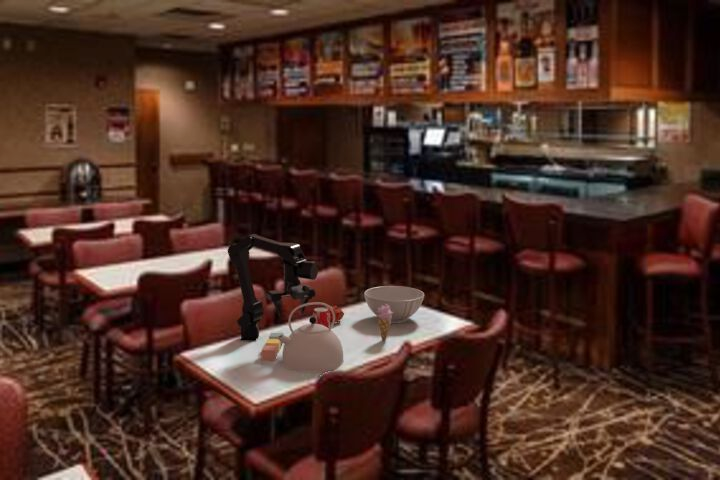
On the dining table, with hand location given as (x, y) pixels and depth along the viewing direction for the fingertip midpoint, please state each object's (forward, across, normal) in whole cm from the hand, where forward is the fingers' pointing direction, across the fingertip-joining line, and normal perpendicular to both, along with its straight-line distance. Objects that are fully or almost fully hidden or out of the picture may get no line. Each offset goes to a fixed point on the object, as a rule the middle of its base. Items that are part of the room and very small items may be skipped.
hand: (291, 315), depth 265 cm
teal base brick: (+13, -4, +5) cm, 14 cm away
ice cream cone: (+12, +36, -12) cm, 40 cm away
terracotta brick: (+13, -12, -9) cm, 20 cm away
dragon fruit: (+13, +29, +20) cm, 37 cm away
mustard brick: (+13, -8, -2) cm, 15 cm away
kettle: (+13, -1, -19) cm, 23 cm away
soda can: (+13, +15, +4) cm, 20 cm away
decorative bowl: (+12, +55, +12) cm, 58 cm away
